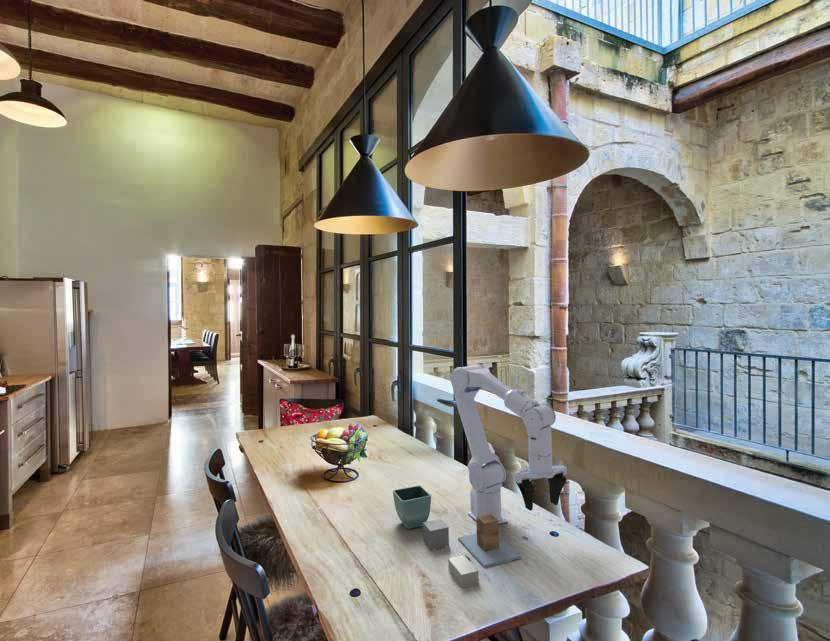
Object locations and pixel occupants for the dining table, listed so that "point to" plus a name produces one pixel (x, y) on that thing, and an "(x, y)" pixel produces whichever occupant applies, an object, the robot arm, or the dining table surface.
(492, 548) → the tall walnut block
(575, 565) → the dining table surface
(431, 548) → the grey cube
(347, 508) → the dining table surface
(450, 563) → the pale grey block
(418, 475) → the dining table surface
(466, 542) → the slate mat
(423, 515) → the flower pot
